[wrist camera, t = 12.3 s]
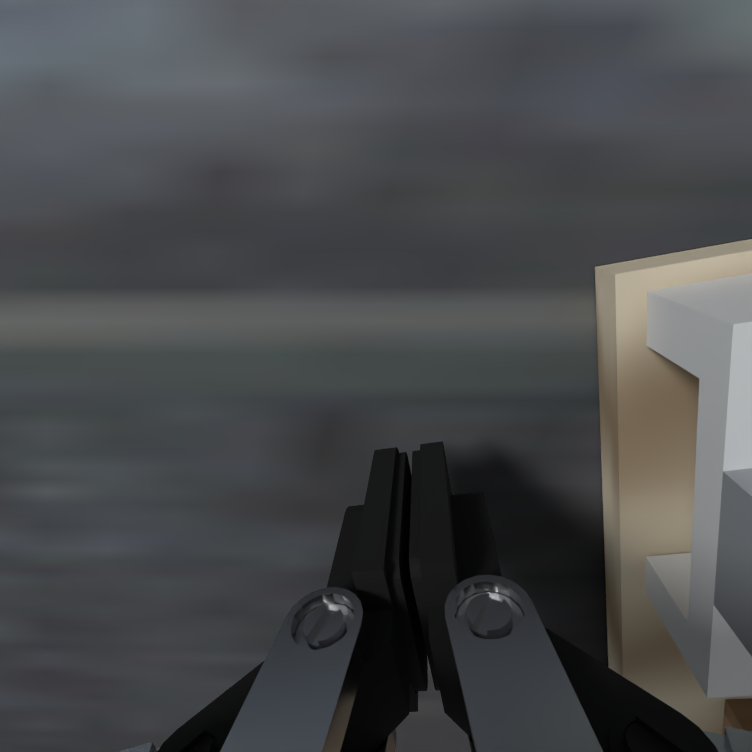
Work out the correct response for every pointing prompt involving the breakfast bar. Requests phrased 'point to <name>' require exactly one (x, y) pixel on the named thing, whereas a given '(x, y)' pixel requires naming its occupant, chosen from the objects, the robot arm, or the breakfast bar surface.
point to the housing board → (652, 472)
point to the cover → (711, 483)
